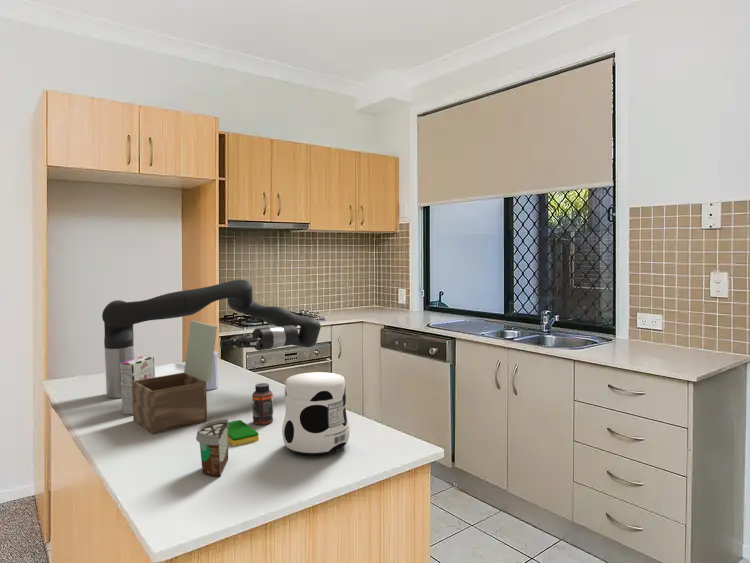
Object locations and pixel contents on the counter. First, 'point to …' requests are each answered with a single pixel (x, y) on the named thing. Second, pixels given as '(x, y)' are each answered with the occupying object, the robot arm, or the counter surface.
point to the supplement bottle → (262, 404)
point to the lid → (200, 350)
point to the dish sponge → (241, 433)
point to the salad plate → (169, 369)
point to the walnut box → (169, 402)
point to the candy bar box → (134, 378)
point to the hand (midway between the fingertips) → (221, 344)
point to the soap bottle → (213, 374)
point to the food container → (213, 447)
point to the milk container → (315, 413)
